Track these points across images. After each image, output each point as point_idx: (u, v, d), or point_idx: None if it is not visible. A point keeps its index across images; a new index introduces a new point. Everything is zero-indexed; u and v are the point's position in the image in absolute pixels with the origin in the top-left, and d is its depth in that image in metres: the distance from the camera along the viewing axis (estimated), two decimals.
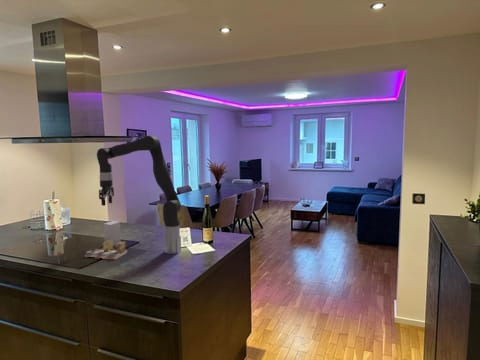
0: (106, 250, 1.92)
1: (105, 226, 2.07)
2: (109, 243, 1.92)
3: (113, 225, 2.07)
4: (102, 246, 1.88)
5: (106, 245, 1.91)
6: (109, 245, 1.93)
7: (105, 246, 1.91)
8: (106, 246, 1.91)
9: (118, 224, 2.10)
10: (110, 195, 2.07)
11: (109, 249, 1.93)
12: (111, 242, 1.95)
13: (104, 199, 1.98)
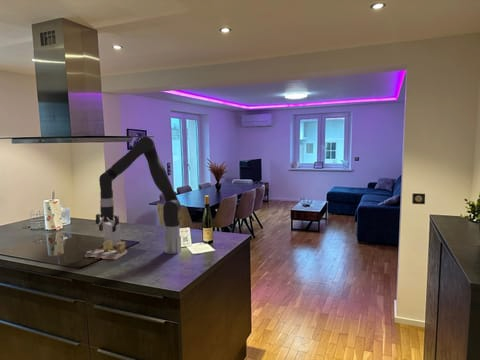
0: (106, 250, 1.92)
1: (105, 226, 2.07)
2: (109, 243, 1.92)
3: None
4: (102, 246, 1.88)
5: (106, 245, 1.91)
6: (109, 245, 1.93)
7: (105, 246, 1.91)
8: (106, 246, 1.91)
9: (118, 224, 2.10)
10: None
11: (109, 249, 1.93)
12: (111, 242, 1.95)
13: (116, 224, 1.93)
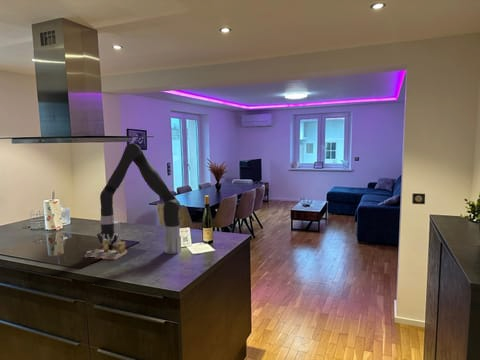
0: (106, 250, 1.92)
1: None
2: None
3: None
4: (102, 246, 1.88)
5: (106, 245, 1.91)
6: None
7: (105, 246, 1.91)
8: (106, 246, 1.91)
9: (118, 224, 2.10)
10: (104, 241, 1.94)
11: None
12: None
13: None
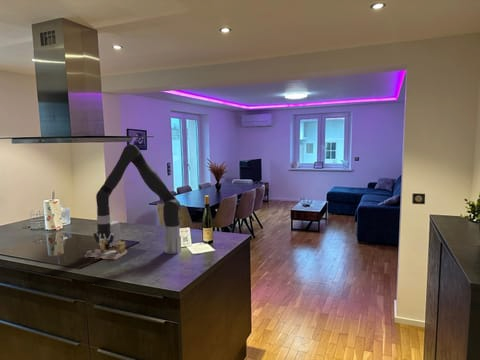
0: (102, 250, 1.92)
1: None
2: (105, 243, 1.93)
3: (113, 225, 2.07)
4: (98, 246, 1.89)
5: (102, 245, 1.92)
6: (105, 245, 1.93)
7: (101, 246, 1.92)
8: (102, 246, 1.92)
9: (118, 224, 2.10)
10: (100, 241, 1.94)
11: (105, 249, 1.93)
12: None
13: None
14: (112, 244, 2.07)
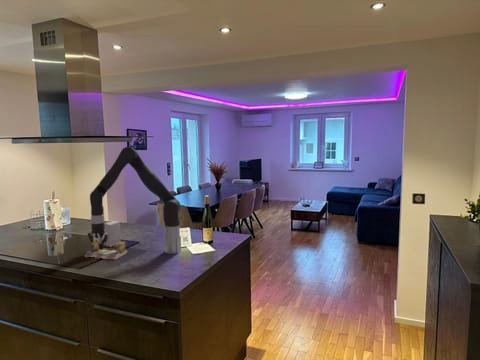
0: (96, 249, 1.93)
1: (105, 226, 2.07)
2: (99, 242, 1.93)
3: (113, 225, 2.07)
4: (92, 245, 1.89)
5: (96, 244, 1.92)
6: (99, 244, 1.94)
7: (95, 245, 1.93)
8: (96, 245, 1.92)
9: (118, 224, 2.10)
10: (94, 240, 1.95)
11: (99, 248, 1.94)
12: None
13: None
14: (112, 244, 2.07)
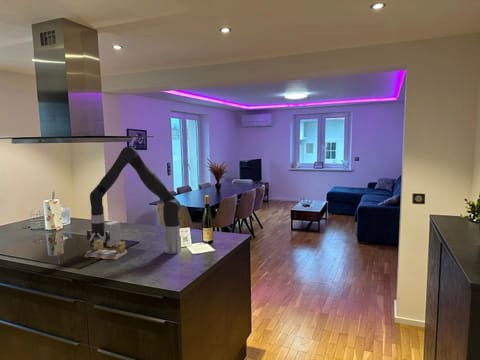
0: (96, 249, 1.93)
1: (105, 226, 2.07)
2: (99, 242, 1.93)
3: (113, 225, 2.07)
4: (92, 245, 1.89)
5: (96, 244, 1.92)
6: (99, 244, 1.94)
7: (95, 245, 1.93)
8: (96, 245, 1.92)
9: (118, 224, 2.10)
10: None
11: (99, 248, 1.94)
12: (102, 241, 1.96)
13: (107, 240, 1.95)
14: (112, 244, 2.07)
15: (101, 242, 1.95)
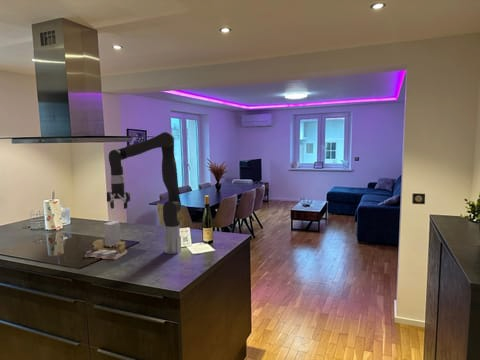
0: (96, 249, 1.93)
1: (105, 226, 2.07)
2: (99, 242, 1.93)
3: (113, 225, 2.07)
4: (92, 245, 1.89)
5: (96, 244, 1.92)
6: (99, 244, 1.94)
7: (95, 245, 1.93)
8: (96, 245, 1.92)
9: (118, 224, 2.10)
10: None
11: (99, 248, 1.94)
12: (102, 241, 1.96)
13: (127, 201, 1.94)
14: (112, 244, 2.07)
15: (101, 242, 1.95)
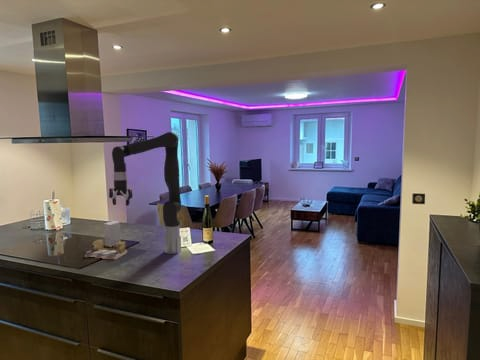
0: (96, 249, 1.93)
1: (105, 226, 2.07)
2: (99, 242, 1.93)
3: (113, 225, 2.07)
4: (92, 245, 1.89)
5: (96, 244, 1.92)
6: (99, 244, 1.94)
7: (95, 245, 1.93)
8: (96, 245, 1.92)
9: (118, 224, 2.10)
10: None
11: (99, 248, 1.94)
12: (102, 241, 1.96)
13: None
14: (112, 244, 2.07)
15: (101, 242, 1.95)
